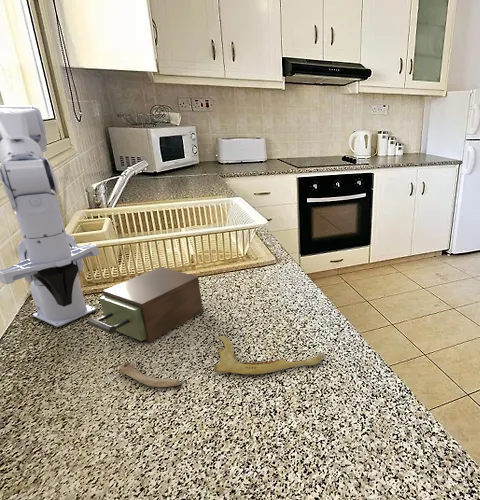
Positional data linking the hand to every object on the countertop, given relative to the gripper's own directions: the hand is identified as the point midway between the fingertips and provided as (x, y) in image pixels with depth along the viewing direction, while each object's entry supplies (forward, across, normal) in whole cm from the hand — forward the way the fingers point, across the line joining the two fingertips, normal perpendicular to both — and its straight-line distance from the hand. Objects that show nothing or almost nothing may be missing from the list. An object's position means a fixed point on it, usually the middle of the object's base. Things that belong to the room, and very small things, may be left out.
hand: (64, 303), depth 68 cm
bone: (+10, 0, -20) cm, 22 cm away
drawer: (+9, +10, -5) cm, 14 cm away
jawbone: (+10, +13, -33) cm, 37 cm away
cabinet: (+9, +14, -5) cm, 18 cm away
